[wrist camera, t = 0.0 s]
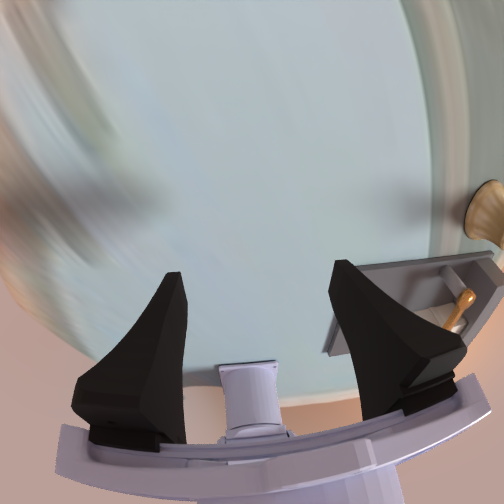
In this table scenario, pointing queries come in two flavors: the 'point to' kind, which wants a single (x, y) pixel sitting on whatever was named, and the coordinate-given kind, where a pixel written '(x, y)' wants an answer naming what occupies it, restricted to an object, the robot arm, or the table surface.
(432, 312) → the plug
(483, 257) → the grey base plate
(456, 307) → the ball-topped lever
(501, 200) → the hand bell
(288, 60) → the table surface
